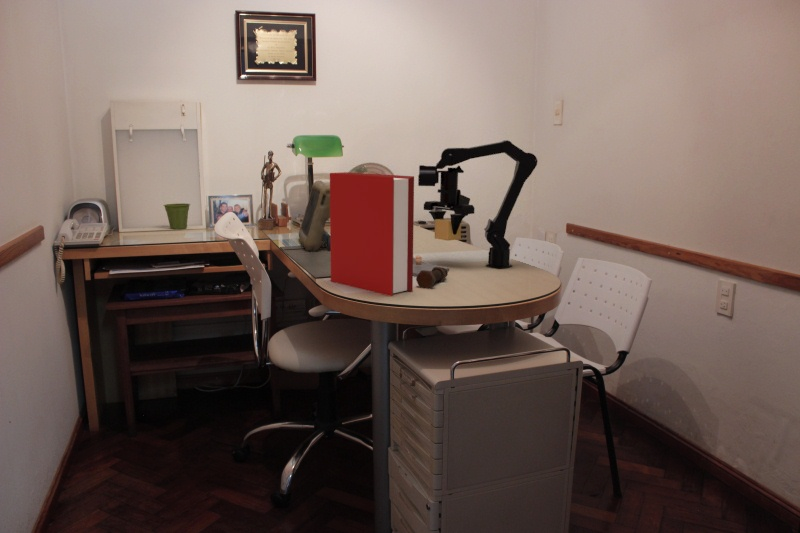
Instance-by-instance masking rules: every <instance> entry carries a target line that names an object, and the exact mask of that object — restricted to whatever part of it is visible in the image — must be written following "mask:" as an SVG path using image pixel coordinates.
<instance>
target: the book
mask: <svg viewBox="0 0 800 533" xmlns="http://www.w3.org/2000/svg"><path fill="white" fill-rule="evenodd" d="M329 185H330V218H329V220H330V221H329V222H330V224H329V225H330V226H329V227H330V232H329V235H330V241H331V251H330V281H331V283H336V284H341V285H344V286H348V287H352V288H355V289H356V288H357V289H360V290H366V291H368V290H369V291H368V292H374V293H378V294H382V295H385V296H389V297H393V295H394V294H397V293H402V292H404V291H409V292H413V285H414V284H413V283H414V282H413V281H414V280H413V279H414V278H413V277H414V276H413V263H414V222H415V221H414V216H415V214H414V212H415V211H414V210H415V209H414V207H415V206H414V205H415V176H411V175H399V174H398V175H397V174H396V175H395V174H383V173H382V174H381V173H366V172H364V173H363V172H348V171H347V172H346V171H344V172H329Z"/></svg>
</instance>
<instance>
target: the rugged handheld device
mask: <svg viewBox="0 0 800 533" xmlns="http://www.w3.org/2000/svg"><path fill="white" fill-rule="evenodd" d="M328 219H329V220H330V184H326V183H324V182H323V181H322V180H316V181H314V183H313V184H312V185H311V189H310V193H309V195H308V201H307V205H306V208H305V211H304V215H303V218H302V221H301V224H300V227H299V231H298V239H299V241H300V244H301V245H302V247H303V248H304V249H305V250H306V251H310V252H317V251H318V250H319V249H320V248H321V246H322V243H324V244H325V246H326V248H327V249H328V251H330V252H331V241H330V233H328V231H327V230H325V227H326V222H327V221H328Z"/></svg>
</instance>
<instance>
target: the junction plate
mask: <svg viewBox="0 0 800 533" xmlns="http://www.w3.org/2000/svg"><path fill="white" fill-rule="evenodd" d="M434 267H442V268H445V269H446V270H447V271H448V272H449V271H450V268H449V267H445V266H440V265H435V264H431V263H428V262H427V263H426V262H423V260H422V256H421V255H416V257H415V262H413V277H416V278H417V276H418V274H419V273H420V271H422V270H426V271H432V269H433V268H434Z"/></svg>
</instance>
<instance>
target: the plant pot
mask: <svg viewBox="0 0 800 533" xmlns="http://www.w3.org/2000/svg"><path fill="white" fill-rule="evenodd" d="M163 206H164V209H165V212H166V215H167V216H166V217H167V219H168V223H169V228H170V229H171V230H173V229H174V230H183V229H187V227H188V218H189V217H188V216H189V211H190V206H191V203H168V204H163Z"/></svg>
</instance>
